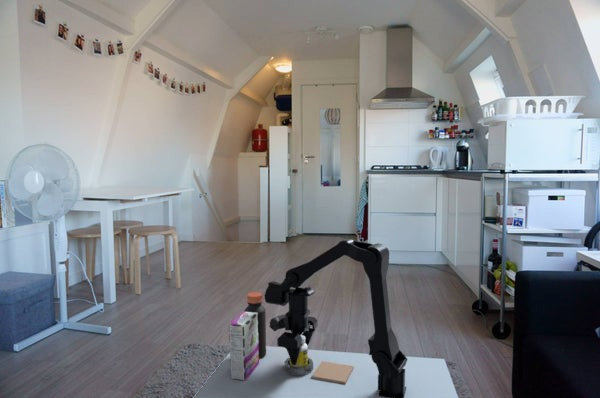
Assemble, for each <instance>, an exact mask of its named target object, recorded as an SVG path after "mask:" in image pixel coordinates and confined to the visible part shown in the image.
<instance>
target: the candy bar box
mask: <svg viewBox="0 0 600 398" xmlns="http://www.w3.org/2000/svg"><path fill="white" fill-rule="evenodd" d="M228 335H229V336H228V338H229V339H228V340H229V359H230V360H229V362H230V368H229V369H230V379H231V380H235V381H237V380H238V381H244V382H245V381H247V379H248V378H249V377H250V376H251V374H252V373H253V372H254V371H255V370H256V368H257V367H258V365H259V364H260V359H259V339H258V313H256V312H245V311H243V312H242V313H241V314H239V315H238V316H237V317H236V318H235V319H233V321H231V322H229V324H228Z"/></svg>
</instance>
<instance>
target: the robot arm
mask: <svg viewBox="0 0 600 398" xmlns="http://www.w3.org/2000/svg"><path fill="white" fill-rule="evenodd" d="M344 256H346V257H349V258H350V259H352V260H354V261H355V262H359V263H361V264H362V266H363V267H362V268H363V270H364V273H365V275H366V276H367V278H368V281H369V289H370V297H371V298H370V299H371V310H372V317H373V327H374V333H373V334H372V335H371V336H370V337H369V338H368V340H367V342H368V343H367V344H368V347H369V353H368V356H370V357H371V361H373V363H374V364H375V365H376V368H377V372H378V375H377V390H378V396H379V397H383V398H405V395H406V392H407V386H406V369H405V368H404V367H406V364H407V362H408V358H407V357H406V355H405V354H404V353H403V352H402V351H401V350H400V346H399V343H398V339H397V336H396V334H395V332H394V330H393V329H392V322H391V321H392V320H391V313H390V312H391V311H390V303H389V295H388V293H389V291H388V284H387V274H388V270H389V264H390V263H389V262H390V251H389V248H388V247H387V246H385V245H384V244H382V243H379V242H378V243H373V244H372V243H370V242H364V241H359V240H355V239H352V238H346V239H343V240H340V241H339V242H338V243H337V244H336V245H333V246H332V247H330V248H329V249H327V250H326V251H324V252H322V253H321V254H319V255H318V256H316V257H315V258H313V259H312V260H310V261H308V262H304V263H302V264H299V265H297V266H294V267H292V268H290V269H289V268H288V270H287V271H285V276H284V277H285V278H284V279H283V281H282V282H277V281H273V280H271V281H269V282H268V286H267V287H266V290H265V292H264V300H265V302H266V303H267V304H270V305H274V306H281V307H286V305H287V304H288V311H287V312H285V314H281V315H277V316H275V317H272V318H270V321H269V328H270V329H271V330H273V332H276V331H278V330H283V329H284V332H283V333H282V334H281V335H280V336H279V337H277V340H276V344H277V345H276V346H278V347H282V348H285V349H286V351H287V354H288V358H290V360H291V363H292V365H296V363H297V360H298V357H299V354H300V351H301V348H302V345H303V344H301V342H302V337H301V335H303V336H305V343H306V344H307V346H308V347H309V346H310V343H311V341H312V339H313V336H314V333H315V332H316V328H318V323H319V322H318V319H317V318H316V317H315V316H309V315H310V314H311V310H310V309H309V300H308V299H309V297H310V296H312V295H314V294H316V292H315V291H314V289H312V288H311V286H309V285H307V286H305V287H301V286H304V285H305V284H308V283H309V281H311V280H312V279H313V278H315V276H316V275H317V274H318V273H319V272H320V271H322V270H323V269H324V268H327V267H328V266H330V265H331V264H333V263H335V262H337V261H338V260H340V259H342V258H343V257H344ZM289 331H290V332H289Z"/></svg>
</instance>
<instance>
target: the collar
mask: <svg viewBox="0 0 600 398" xmlns="http://www.w3.org/2000/svg"><path fill="white" fill-rule="evenodd" d="M283 361H284V363H283V365H284V366H283V367H284V372H285V373H286V374H288V375H289V376H295V377H300V376H306V375H308V374H311V373H312V372H313V370H314V362H313V359H312V358H310V357H308V365H307V366H305V367H298V368H297V367H292V366H290V357H288V358H286V359H285V360H283Z"/></svg>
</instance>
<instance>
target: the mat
mask: <svg viewBox="0 0 600 398" xmlns="http://www.w3.org/2000/svg"><path fill="white" fill-rule="evenodd" d="M354 369H355V366H353V365H350V364H343V363H337V362H330V361H323V360H322V361H321V362H320V364H319V365H318V366H317V368H316V369H315V370H314V371H313V373H312V375H311V379H315V380H322V381H327V382H333V383H338V384H344V385H346V384H347V382H348V380H349V378H350V376H351V374H352V372H353V371H354Z"/></svg>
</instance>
